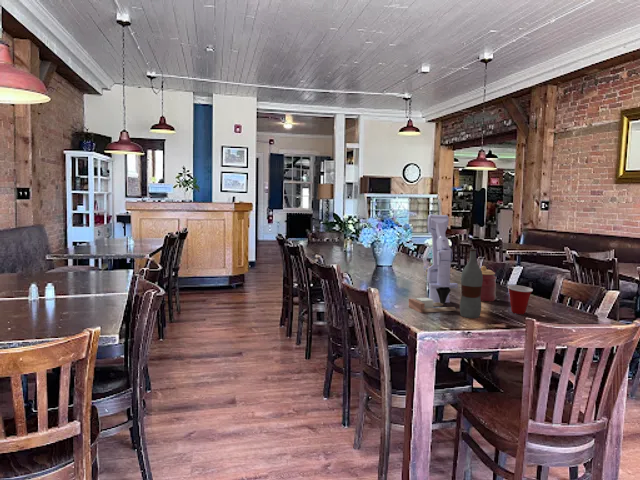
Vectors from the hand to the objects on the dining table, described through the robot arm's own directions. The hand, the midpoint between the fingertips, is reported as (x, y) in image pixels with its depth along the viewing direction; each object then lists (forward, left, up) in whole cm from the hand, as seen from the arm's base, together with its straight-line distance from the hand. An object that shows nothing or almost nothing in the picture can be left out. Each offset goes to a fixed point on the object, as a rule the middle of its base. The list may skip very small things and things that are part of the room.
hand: (442, 303), depth 223 cm
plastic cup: (-30, +16, -3) cm, 34 cm away
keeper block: (+10, 0, -2) cm, 10 cm away
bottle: (-4, +16, -3) cm, 17 cm away
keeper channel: (+6, 0, -2) cm, 6 cm away
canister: (-32, -14, -3) cm, 35 cm away
